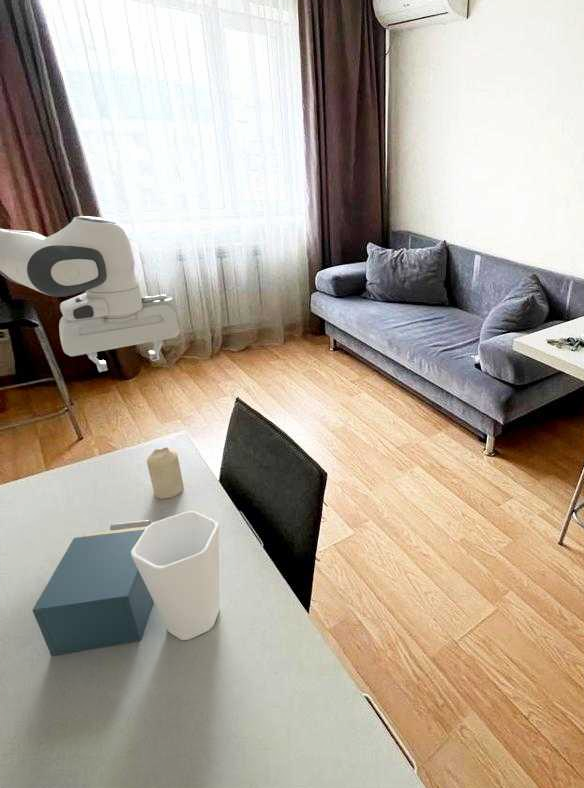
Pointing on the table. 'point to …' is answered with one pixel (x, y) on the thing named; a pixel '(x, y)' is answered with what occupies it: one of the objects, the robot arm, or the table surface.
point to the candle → (165, 473)
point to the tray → (123, 527)
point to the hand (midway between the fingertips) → (129, 364)
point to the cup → (182, 571)
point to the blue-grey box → (94, 596)
